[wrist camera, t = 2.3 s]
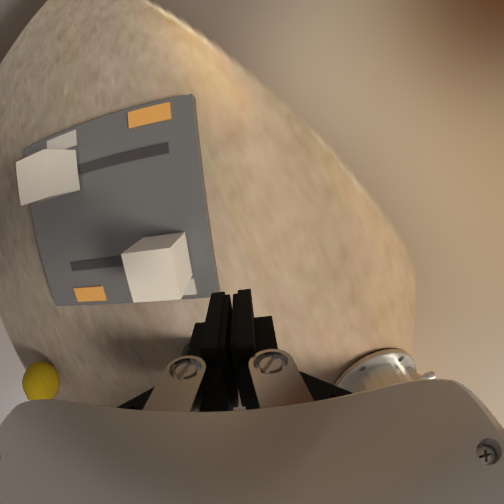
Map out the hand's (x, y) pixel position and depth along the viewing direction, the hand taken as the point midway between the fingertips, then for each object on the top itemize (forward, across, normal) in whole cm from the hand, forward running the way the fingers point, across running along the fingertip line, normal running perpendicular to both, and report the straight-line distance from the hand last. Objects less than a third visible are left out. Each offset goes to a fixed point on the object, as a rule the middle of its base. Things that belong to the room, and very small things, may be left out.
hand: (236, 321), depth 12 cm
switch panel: (+15, +13, -4) cm, 20 cm away
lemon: (+15, +30, +16) cm, 38 cm away
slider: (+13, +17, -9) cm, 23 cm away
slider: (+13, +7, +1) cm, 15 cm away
